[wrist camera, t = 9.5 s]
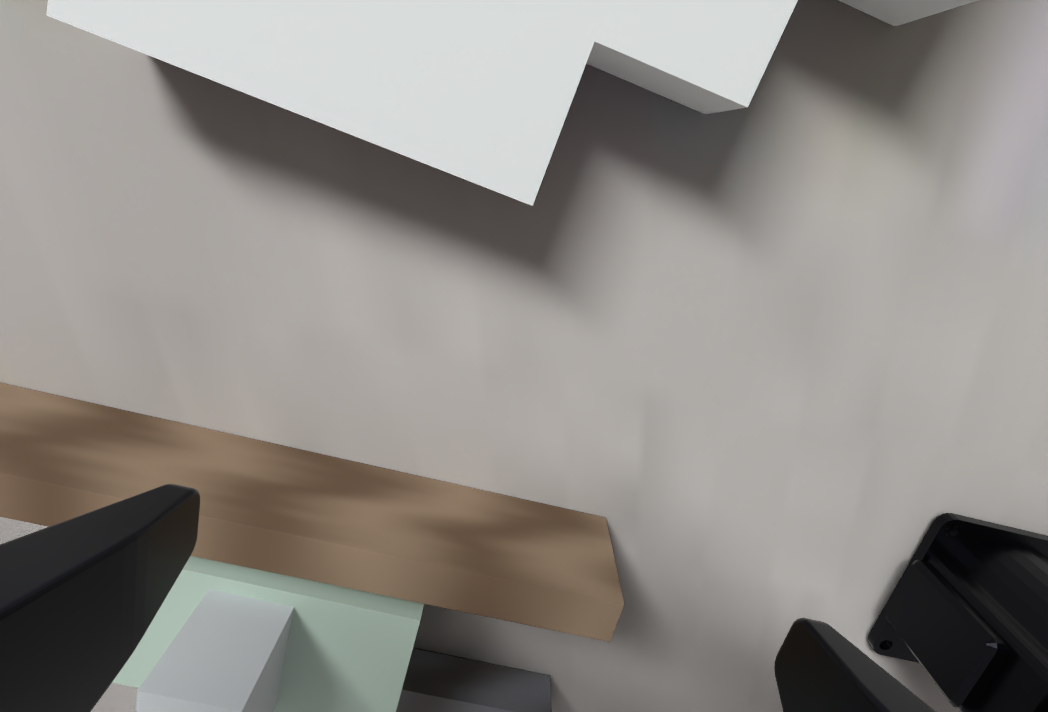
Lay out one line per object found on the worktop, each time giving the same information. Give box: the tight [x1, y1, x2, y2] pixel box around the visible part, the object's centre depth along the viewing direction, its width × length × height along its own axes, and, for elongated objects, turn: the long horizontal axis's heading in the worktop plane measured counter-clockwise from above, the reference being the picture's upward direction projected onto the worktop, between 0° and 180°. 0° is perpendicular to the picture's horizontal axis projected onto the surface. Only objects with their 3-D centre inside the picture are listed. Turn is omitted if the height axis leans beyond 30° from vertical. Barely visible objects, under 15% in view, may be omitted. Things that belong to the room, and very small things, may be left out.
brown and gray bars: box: [0, 383, 624, 712], centre depth 21 cm, size 22×10×4 cm, turn 76°
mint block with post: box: [112, 556, 424, 712], centre depth 19 cm, size 10×5×8 cm, turn 75°
